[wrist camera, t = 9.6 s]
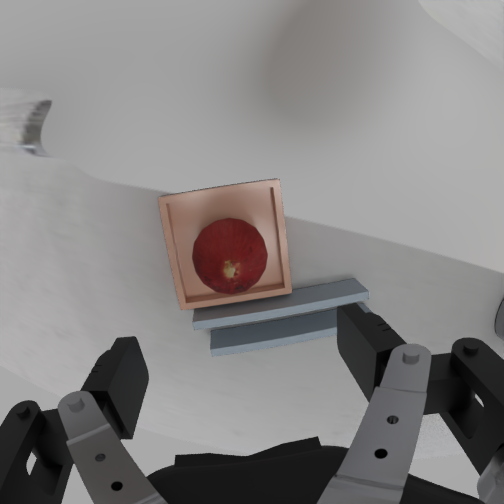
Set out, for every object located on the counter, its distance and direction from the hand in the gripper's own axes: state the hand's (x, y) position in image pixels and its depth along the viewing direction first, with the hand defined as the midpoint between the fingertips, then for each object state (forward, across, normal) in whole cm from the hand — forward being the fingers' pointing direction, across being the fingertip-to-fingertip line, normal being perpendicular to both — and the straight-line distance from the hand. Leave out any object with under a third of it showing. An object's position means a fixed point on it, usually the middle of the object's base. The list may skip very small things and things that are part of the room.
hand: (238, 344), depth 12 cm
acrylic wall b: (+17, -4, +6) cm, 19 cm away
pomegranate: (+17, 0, 0) cm, 17 cm away
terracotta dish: (+17, 0, 0) cm, 17 cm away
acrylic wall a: (+17, -5, +9) cm, 20 cm away
